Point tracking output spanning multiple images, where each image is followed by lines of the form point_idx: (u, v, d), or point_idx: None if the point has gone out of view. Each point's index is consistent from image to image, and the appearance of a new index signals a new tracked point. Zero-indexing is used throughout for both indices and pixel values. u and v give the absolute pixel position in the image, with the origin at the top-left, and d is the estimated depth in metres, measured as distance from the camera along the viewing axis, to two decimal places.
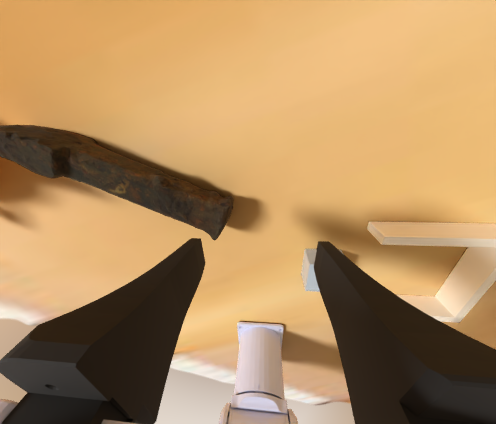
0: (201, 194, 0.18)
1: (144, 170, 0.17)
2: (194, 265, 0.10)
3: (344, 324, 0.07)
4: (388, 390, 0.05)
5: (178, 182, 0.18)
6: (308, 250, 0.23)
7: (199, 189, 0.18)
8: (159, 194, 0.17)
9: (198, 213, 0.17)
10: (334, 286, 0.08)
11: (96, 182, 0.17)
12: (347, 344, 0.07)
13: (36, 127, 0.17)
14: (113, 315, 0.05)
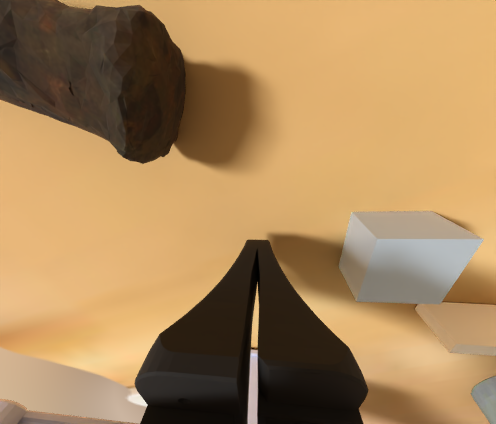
0: None
1: None
2: (256, 268, 0.10)
3: None
4: None
5: None
6: (360, 214, 0.11)
7: None
8: None
9: (43, 48, 0.05)
10: (259, 283, 0.09)
11: None
12: None
13: None
14: (229, 323, 0.05)
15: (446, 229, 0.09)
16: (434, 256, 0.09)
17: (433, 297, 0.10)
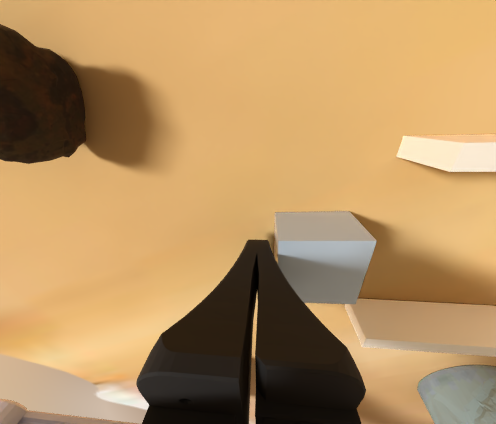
0: None
1: None
2: (257, 268, 0.10)
3: None
4: None
5: None
6: (281, 216, 0.11)
7: None
8: None
9: None
10: (258, 283, 0.09)
11: None
12: None
13: None
14: (231, 323, 0.05)
15: (350, 230, 0.09)
16: (336, 257, 0.09)
17: (347, 297, 0.10)
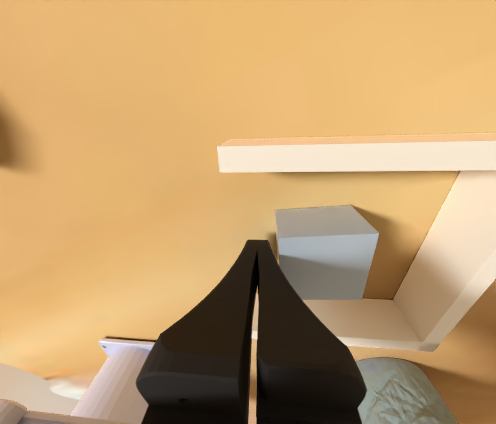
0: None
1: None
2: (256, 268, 0.10)
3: None
4: None
5: None
6: (281, 213, 0.11)
7: None
8: None
9: None
10: (258, 283, 0.09)
11: None
12: None
13: None
14: (230, 323, 0.05)
15: (351, 224, 0.09)
16: (338, 252, 0.09)
17: (352, 293, 0.10)
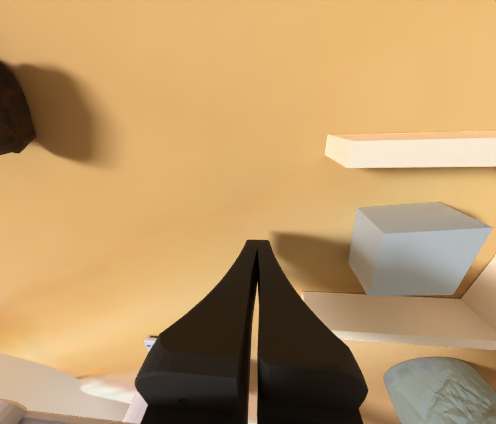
0: None
1: None
2: (256, 268, 0.10)
3: None
4: None
5: None
6: (366, 209, 0.11)
7: None
8: None
9: None
10: (259, 283, 0.09)
11: None
12: None
13: None
14: (229, 323, 0.05)
15: (454, 219, 0.09)
16: (443, 247, 0.09)
17: (445, 288, 0.10)
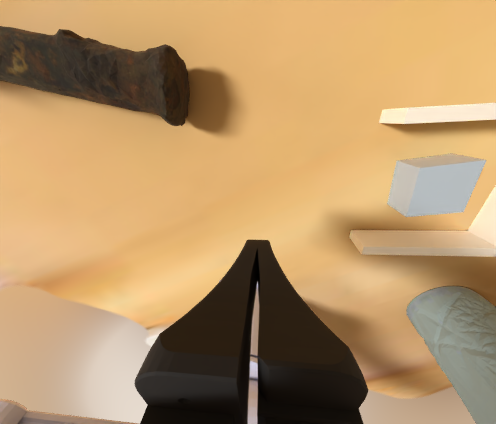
0: None
1: None
2: (256, 268, 0.10)
3: None
4: None
5: None
6: (403, 160, 0.16)
7: None
8: (65, 51, 0.11)
9: (128, 71, 0.12)
10: (259, 283, 0.09)
11: None
12: None
13: None
14: (229, 323, 0.05)
15: (462, 159, 0.14)
16: (456, 175, 0.14)
17: (458, 207, 0.15)
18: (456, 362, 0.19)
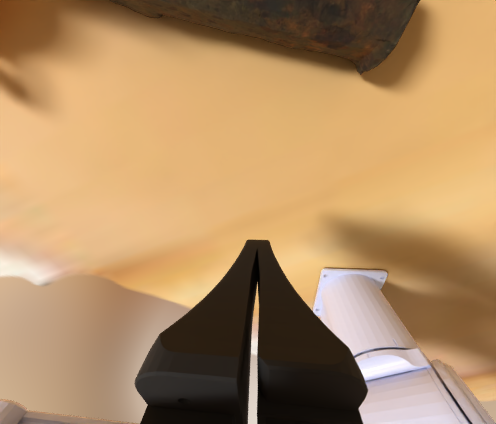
0: None
1: None
2: (256, 268, 0.10)
3: None
4: None
5: None
6: None
7: None
8: None
9: None
10: (259, 283, 0.09)
11: None
12: None
13: None
14: (229, 323, 0.05)
15: None
16: None
17: None
18: None
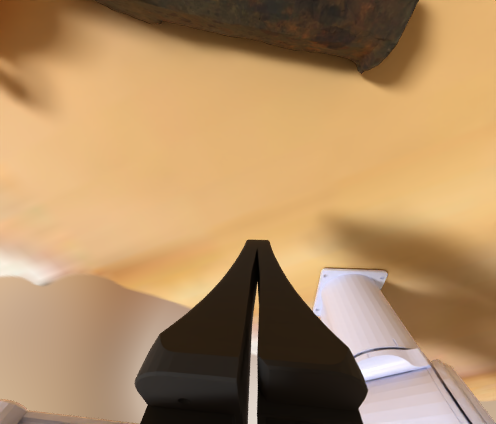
0: None
1: None
2: (256, 268, 0.10)
3: None
4: None
5: None
6: None
7: None
8: None
9: None
10: (259, 283, 0.09)
11: None
12: None
13: None
14: (229, 323, 0.05)
15: None
16: None
17: None
18: None
